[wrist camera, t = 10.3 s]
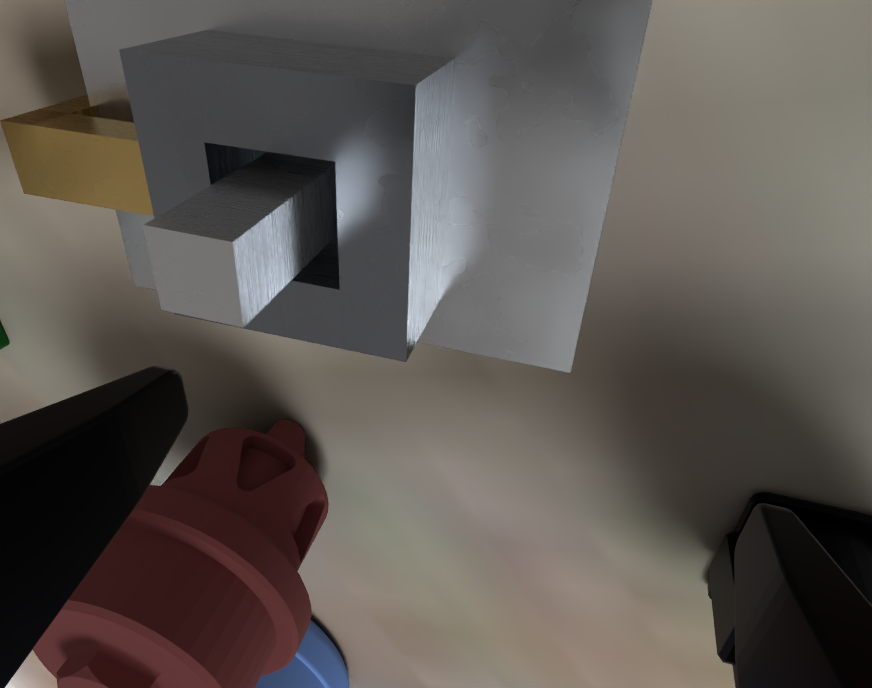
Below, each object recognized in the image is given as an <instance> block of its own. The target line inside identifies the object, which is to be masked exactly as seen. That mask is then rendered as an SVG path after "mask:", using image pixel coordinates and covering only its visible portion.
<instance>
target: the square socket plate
mask: <svg viewBox="0 0 872 688" xmlns="http://www.w3.org/2000/svg"><path fill="white" fill-rule="evenodd" d="M64 1H65V5H66V9H67V13H68V17H69V21H70V25H71V29H72V34H73V38H74V42H75V46H76V50H77V54H78V58H79V62H80V66H81V70H82V74H83V78H84V82H85V87H86V91H87V95H88V96H87V95H85V96H82V97H79V98H75V99H72V100H68V101H65V102H62V103H58V104H55V105H51V106H48V107H45V108H41V109H38V110H34V111H31V112H28V113H24V114H21V115H17V116H14V117H11V118H7V119H4V120H0V122H1V125H2V128H3V131H4V134H5V137H6V140H7V143H8V146H9V149H10V152H11V155H12V158H13V161H14V164H15V168H16V171H17V174H18V177H19V180H20V183H21V186H22V189H23V192H24V194H30V195H36V196H42V197H47V198H53V199H59V200H64V201H70V202H76V203H82V204H87V205H93V206H99V207H104V208H110V209H116V213H117V217H118V221H119V225H120V229H121V233H122V237H123V241H124V246H125V250H126V254H127V258H128V262H129V266H130V270H131V274H132V278H133V282H134V286H139V287H144V288H149V289H154V290H157V288H156V283H155V279H154V274H153V269H152V265H151V260H150V255H149V250H148V246H147V241H146V236H145V232H144V227H143V225H144V224H146V223H147V222H149V221H151V220H153V219H154V218H156V217H158V216H159V215H161V214H163V213H164V212H166V211H168V210H169V209H171V208H173V207H175V206H176V205H178V204H180V203H181V202H183V201H185V200H186V199H188V198H190V197H192V196H193V195H195V194H197V193H198V192H200V191H202V190H203V189H205V188H207V187H209V186H210V185H212V184H214V183H215V182H217V181H219V180H220V179H222V178H224V177H225V176H227V175H229V174H231V173H232V172H234V171H236V170H237V169H239V168H241V167H242V166H244V165H246V164H248V163H249V162H251V161H253V160H254V159H256V158H258V157H259V156H261V155H263V154H265V153H266V152H273V153H280V154H287V155H294V156H300V157H307V158H314V159H321V160H327V161H334V162H335V171H336V199H337V228H338V234H337V235H336V236H335V237H334V238H333V239H332V240H331V241H330V242H329V243H328V244H327V245H326V246H325V247H324V248H323V249H322V250H321V251H320V252H319V253H318V254H317V255H316V256H315V257H314V258H313V259H312V260H311V261H310V262H309V263H308V264H307V265H306V266H305V267H304V268H303V269H302V270H301V271H300V272H299V273H298V274H297V275H296V276H295V277H294V278H293V279H292V280H291V281H290V282H289V283H288V284H287V285H286V286H285V287H284V288H283V289H282V290H281V291H280V292H279V293H278V294H277V295H276V296H275V297H274V298H273V299H272V300H271V301H270V302H269V303H268V304H267V305H266V306H265V307H264V308H263V309H262V310H261V311H260V312H259V313H258V314H257V315H256V316H255V317H254V318H253V319H252V320H251V321H250V322H249V323H248V324H247V325H246V326H245V327H244V328H245V329H249V330H254V331H259V332H264V333H269V334H273V335H278V336H283V337H288V338H293V339H298V340H302V341H307V342H312V343H317V344H322V345H327V346H331V347H336V348H341V349H346V350H351V351H356V352H360V353H365V354H370V355H375V356H380V357H384V358H389V359H394V360H399V361H404V362H406V361H407V359H408V357H409V356H410V354H411V352H412V350H413V348H414V346H415V345H416V343H417V342H419V343H424V344H429V345H434V346H439V347H444V348H449V349H454V350H459V351H464V352H469V353H474V354H479V355H484V356H489V357H494V358H499V359H504V360H509V361H514V362H519V363H524V364H529V365H534V366H539V367H544V368H549V369H554V370H559V371H564V372H569V373H570V372H571V368H572V363H573V359H574V354H575V350H576V345H577V340H578V336H579V331H580V327H581V322H582V318H583V313H584V309H585V304H586V300H587V295H588V290H589V286H590V281H591V277H592V272H593V268H594V263H595V259H596V254H597V250H598V245H599V240H600V236H601V231H602V227H603V222H604V218H605V213H606V209H607V204H608V200H609V195H610V190H611V186H612V181H613V177H614V172H615V168H616V163H617V159H618V154H619V150H620V145H621V140H622V136H623V131H624V127H625V122H626V118H627V113H628V109H629V104H630V100H631V95H632V91H633V86H634V81H635V77H636V72H637V68H638V63H639V59H640V54H641V50H642V45H643V41H644V36H645V31H646V27H647V22H648V18H649V13H650V9H651V4H652V0H64ZM174 314H177V315H182V316H187V317H191V318H196V319H201V320H206V319H202V318H197V317H192V316H188V315H183V314H179V313H174ZM206 321H211V320H206ZM211 322H215V321H211ZM216 323H220V322H216ZM220 324H225V323H220ZM225 325H229V324H225ZM230 326H234V325H230ZM235 327H238V326H235ZM240 328H243V327H240Z"/></svg>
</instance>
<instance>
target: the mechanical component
mask: <svg viewBox="0 0 872 688" xmlns="http://www.w3.org/2000/svg"><path fill="white" fill-rule="evenodd" d="M305 440H306V436H305V433H304V431H303V430H302V428H301V427H300V426H299V425H298V424H297V423H295V422H293V421H290V420H285V419H283V420H278V421H276V422H275V424H274V425H273V426H272V427H271V429H270V430H269V431H268V432H267V433H266V434H263V433H261V432H258V431H253V430H249V429H243V428H225V429H218V430H216V431H213V432H210V433H209V434H207V435H206V436H204V437H203V438H202V439H201V440H200V441H199V443H198V444H197V445H196V446H195V447H194V448H193V449H192V451H191V452H190V453H189V454H188V455H187V456H186V457H185V459H184V460H183V461H182V462H181V463H180V464H179V465H178V466H177V468H176V469H175V470H174V471H173V472H172V474H171V475H170V476H169V477H168V479H167V480H166V481H165V482H164V483H163V484H162V485H161V486H155V485H149V487H148V488H147V490H146V492H145V493H144V495H143V496H142V498H141V499H140V501H139V502H138V504H137V505H136V507H135V508H134V510H133V511H132V513H131V514H130V515H129V517H128V518H127V519H126V521H125V522H124V524H123V525H122V526H121V528H120V529H119V530H118V532H117V533H116V535H115V536H114V537H113V539H112V540H111V542H110V543H109V544H108V546H107V547H106V548H105V550H104V551H103V553H102V554H101V555H100V557H99V558H98V559H97V561H96V562H95V564H94V565H93V566H92V568H91V569H90V570H89V572H88V573H87V575H86V576H85V577H84V579H83V580H82V582H81V583H80V584H79V586H78V587H77V588H76V590H75V591H74V593H73V594H72V595H71V597H70V598H69V599H68V601H67V602H66V604H65V605H64V606H63V608H62V609H61V611H60V612H59V613H58V615H57V616H56V617H55V619H54V620H53V622H52V623H51V624H50V626H49V627H48V628H47V630H46V631H45V633H44V634H43V635H42V637H41V638H40V640H39V641H38V642H37V644H36V645H35V646H34V648H33V651H34V652H35V654H36V655H37V657H38V658H39V660H40V661H41V662H42V663H43V665H44V666H45V667H46V668H47V669H48V670H49V671H50V672H51V673H52V674H53V675H54V676H55V677H56V678H57V685H58V688H255V687H256V685H257V683H258V681H259V679H260V677H261V676H262V675H266V674H270V673H273V672H276V671H278V670H280V669H282V668H284V667H285V666H286V665H288V664H289V663H290V662H291V661H292V659H293V658H294V656H295V655H296V653H297V650H298V648H299V646H300V644H301V642H302V640H303V638H304V636H305V634H306V632H307V629H308V627H309V624H310V620H311V604H310V600H309V595H308V593H307V590H306V588H305V586H304V583H303V581H302V579H301V577H300V575H299V573H298V572H297V571H298V569H299V567H300V565H301V563H302V561H303V560H304V558H305V556H306V554H307V552H308V550H309V548H310V547H311V545H312V543H313V541H314V539H315V537H316V535H317V533H318V532H319V530H320V528H321V526H322V524H323V522H324V520H325V519H326V516H327V513H328V497H327V493H326V490H325V487H324V485H323V483H322V481H321V479H320V478H319V476H318V474H317V473H316V472H315V470H314V469H313V468H312V467H311V465H310V464H309V463H308V462H307V461H306V460H305V452H304V448H305Z"/></svg>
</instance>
